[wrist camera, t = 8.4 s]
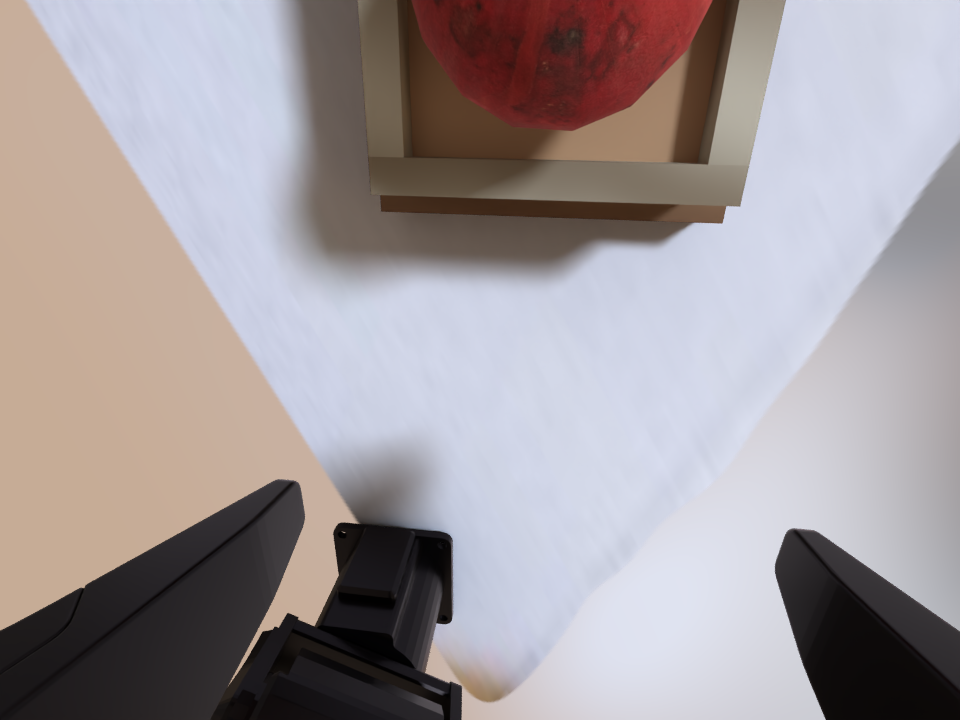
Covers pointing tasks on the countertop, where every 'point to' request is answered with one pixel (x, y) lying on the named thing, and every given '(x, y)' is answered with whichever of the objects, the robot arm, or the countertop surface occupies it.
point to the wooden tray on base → (568, 154)
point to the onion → (557, 53)
